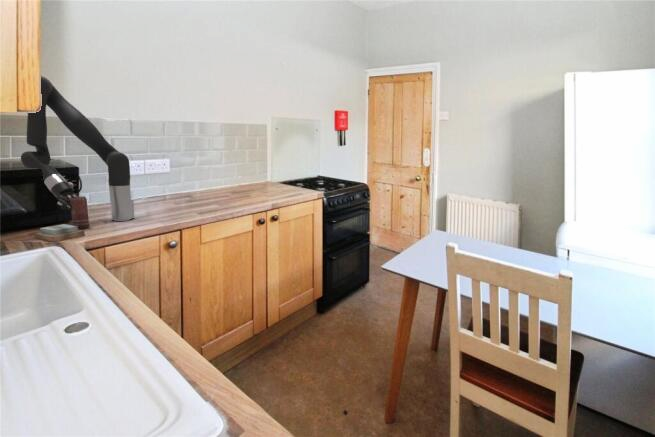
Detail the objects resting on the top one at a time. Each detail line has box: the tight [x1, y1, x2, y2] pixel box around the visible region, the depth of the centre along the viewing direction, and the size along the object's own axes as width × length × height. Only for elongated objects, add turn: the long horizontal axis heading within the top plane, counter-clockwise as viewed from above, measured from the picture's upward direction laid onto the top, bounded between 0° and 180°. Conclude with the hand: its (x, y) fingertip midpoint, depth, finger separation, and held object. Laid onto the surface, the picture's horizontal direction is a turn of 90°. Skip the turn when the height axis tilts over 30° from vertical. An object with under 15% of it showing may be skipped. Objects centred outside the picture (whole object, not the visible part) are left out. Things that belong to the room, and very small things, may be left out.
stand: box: [33, 223, 86, 242], centre depth 150 cm, size 12×12×4 cm
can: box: [70, 196, 90, 230], centre depth 165 cm, size 6×6×14 cm
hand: (84, 215), depth 165 cm, fingers closed
